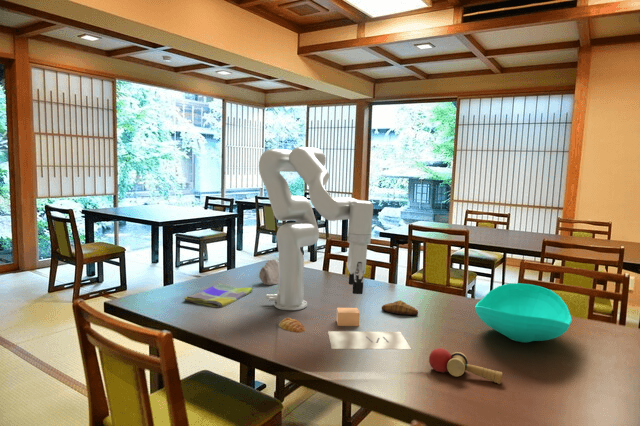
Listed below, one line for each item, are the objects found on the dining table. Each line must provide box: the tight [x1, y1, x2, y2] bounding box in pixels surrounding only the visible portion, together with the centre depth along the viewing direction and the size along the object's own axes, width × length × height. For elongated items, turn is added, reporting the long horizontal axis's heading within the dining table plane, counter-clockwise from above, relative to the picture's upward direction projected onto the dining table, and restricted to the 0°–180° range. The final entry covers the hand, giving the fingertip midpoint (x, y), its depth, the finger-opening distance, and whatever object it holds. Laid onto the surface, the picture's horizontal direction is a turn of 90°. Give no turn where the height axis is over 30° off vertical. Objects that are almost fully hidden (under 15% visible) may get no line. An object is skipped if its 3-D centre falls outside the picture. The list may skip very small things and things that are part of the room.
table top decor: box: [474, 282, 573, 343], centre depth 138 cm, size 40×28×13 cm
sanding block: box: [335, 307, 361, 327], centre depth 143 cm, size 7×5×6 cm
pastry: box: [278, 317, 306, 333], centre depth 138 cm, size 9×7×4 cm
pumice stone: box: [258, 259, 279, 286], centre depth 196 cm, size 15×8×10 cm, turn 143°
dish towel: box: [183, 282, 253, 309], centre depth 173 cm, size 18×24×3 cm
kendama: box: [428, 347, 504, 385], centre depth 112 cm, size 8×6×18 cm
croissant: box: [381, 300, 419, 316], centre depth 159 cm, size 14×7×5 cm, turn 70°
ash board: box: [327, 330, 412, 350], centre depth 130 cm, size 23×13×2 cm, turn 93°
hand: (355, 288), depth 143 cm, fingers open, 9 cm apart
